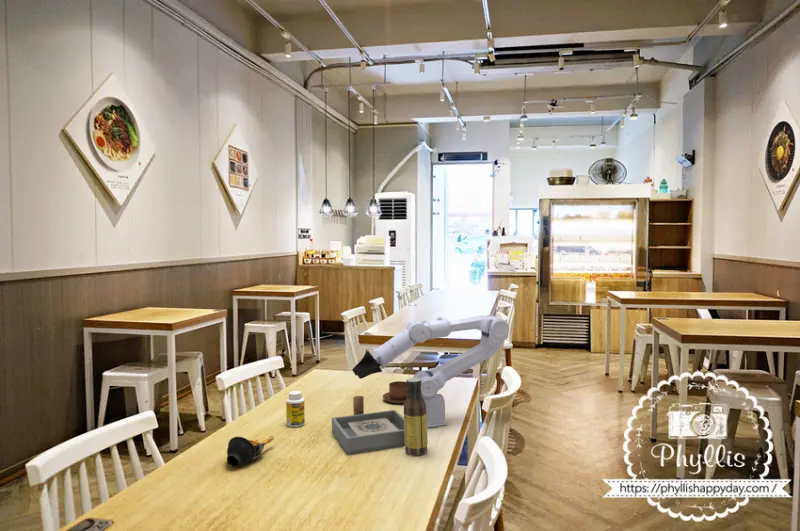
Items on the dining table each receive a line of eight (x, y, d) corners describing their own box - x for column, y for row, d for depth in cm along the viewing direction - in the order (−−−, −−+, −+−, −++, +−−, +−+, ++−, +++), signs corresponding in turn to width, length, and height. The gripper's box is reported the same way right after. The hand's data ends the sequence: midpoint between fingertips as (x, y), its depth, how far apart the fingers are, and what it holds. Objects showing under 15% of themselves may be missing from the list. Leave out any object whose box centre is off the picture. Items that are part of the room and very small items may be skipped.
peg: (362, 420, 171) (361, 395, 170) (365, 423, 168) (364, 398, 167) (352, 421, 169) (352, 396, 169) (355, 424, 166) (354, 399, 166)
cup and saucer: (422, 399, 193) (422, 382, 193) (404, 408, 183) (404, 390, 183) (394, 394, 200) (394, 378, 199) (376, 402, 189) (376, 385, 189)
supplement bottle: (290, 429, 163) (290, 396, 162) (283, 424, 167) (283, 391, 167) (307, 425, 166) (307, 393, 165) (300, 420, 170) (300, 389, 170)
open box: (394, 424, 166) (394, 410, 166) (416, 444, 149) (416, 428, 149) (331, 432, 159) (331, 417, 159) (347, 455, 143) (346, 438, 142)
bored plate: (385, 425, 162) (385, 417, 162) (399, 439, 151) (399, 430, 151) (347, 430, 158) (347, 422, 158) (358, 445, 147) (358, 436, 147)
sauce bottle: (420, 445, 149) (420, 375, 148) (431, 453, 143) (431, 380, 142) (400, 449, 146) (399, 377, 145) (410, 458, 140) (409, 383, 139)
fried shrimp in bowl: (212, 453, 134) (242, 415, 148) (233, 482, 136) (260, 442, 151) (236, 446, 131) (264, 407, 145) (256, 475, 134) (282, 435, 148)
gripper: (388, 342, 172) (353, 367, 170) (383, 333, 158) (344, 359, 157) (400, 360, 170) (365, 385, 168) (396, 352, 156) (357, 379, 154)
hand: (356, 374), depth 162 cm, fingers open, 7 cm apart
